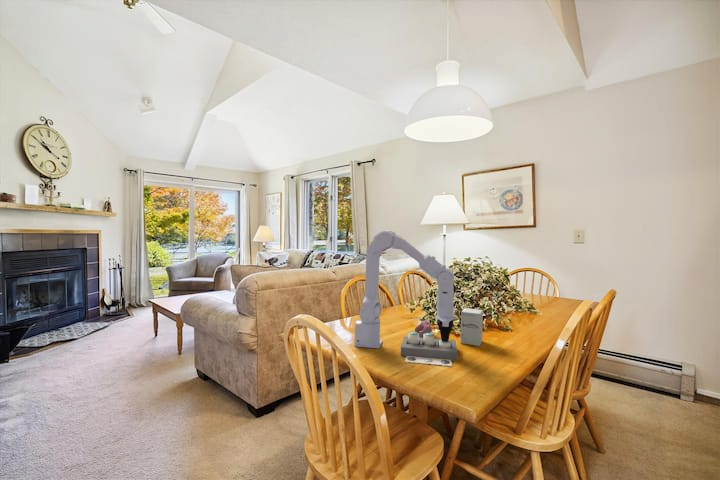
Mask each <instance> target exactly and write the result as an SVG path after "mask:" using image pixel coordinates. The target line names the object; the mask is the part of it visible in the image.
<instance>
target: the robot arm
mask: <svg viewBox="0 0 720 480" xmlns="http://www.w3.org/2000/svg"><path fill="white" fill-rule="evenodd" d="M388 249H389V250H390V249H395V250H401V251H402V252H404V253H405V254H406V255H408V256H409V257H410V258H412V259H413V260H415V261H416V262H417V263H418V264H419V265H418V266H419V268H420V269H421V270H422V271H423V272H425V273H426V274H427V275H429V276H430V278H432V279H435V280H436V283H437V290H436V292H437V293H436V319H437V320H436V323H437V324H436V325H437V326H438V329H439V332H440V339H441V340H442V341H443V342H448V340H450V335H451V330H452V328H453V326H454V320H456V319H458V316H457V315H454V313H455V312H454V310H455V309H454V302H455V300H454V299H455V297H454V296H455V293H454V292H455V291H454V283H455V273H454V272H453V271H452V270H451V269H450V268H447V266H446V265H445V264H444V265H443V264H442V263H440V262H439V261H438V260H436V257H435V256H434V255H432V256H431V255H429V254H428V255H425V254H423V253H422V252H421V251H419V250H418V249H417V248H416V247H414V245H412V244H411V243H410V242H409V241H407V240H406V239H405V238H403V237H402V236H400V235H398V234H396V232H395V231H392V230H387V231H386V230H383V231H379V232H378V233H377V234H375V236H373V238H372V241H371V242H370V243H369V245H368V247H367V248H366V251H365V253H366V254H365V255H366V257H365V277H364V278H365V281H364V282H365V283H364V297H363V300H362V303H361V308H360V310H359V312H358V313H359V314H358V315H359V318H360V320H356V322H355V326H354V345H353V346H354V347H360V348H368V349H369V348H370V349H380V347H381V345H382V343H383V340H381V319H380V315H381V313H382V306H381V304H380V298H379V278H380V256H381V255H382V254H383V253H385V251H386V250H388Z"/></svg>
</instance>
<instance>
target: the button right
mask: <svg viewBox="0 0 720 480" xmlns="http://www.w3.org/2000/svg"><path fill="white" fill-rule="evenodd" d="M449 340H450V339H449ZM449 340H448V342H443V341H442V340H439V347H448V348H451V342H450V341H449Z"/></svg>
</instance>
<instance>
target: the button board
mask: <svg viewBox="0 0 720 480" xmlns="http://www.w3.org/2000/svg"><path fill="white" fill-rule="evenodd" d="M439 340H441V338H435V346H424V345H423V338H419V345H412V344H408V336H403V339H402V342H401V346H400V356H401V355H403V357H406V356H414V357H425V358H436V359H447V360H451V361H456V362H457V361H458V346H457V342H456V340H455V339H449V341H450V342H451V348H448V347H439Z"/></svg>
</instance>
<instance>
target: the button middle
mask: <svg viewBox="0 0 720 480" xmlns="http://www.w3.org/2000/svg"><path fill="white" fill-rule="evenodd" d="M435 339H436V335H435V334H434V333H432V332H430V333H425V334H423V345H424V346H435Z"/></svg>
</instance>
